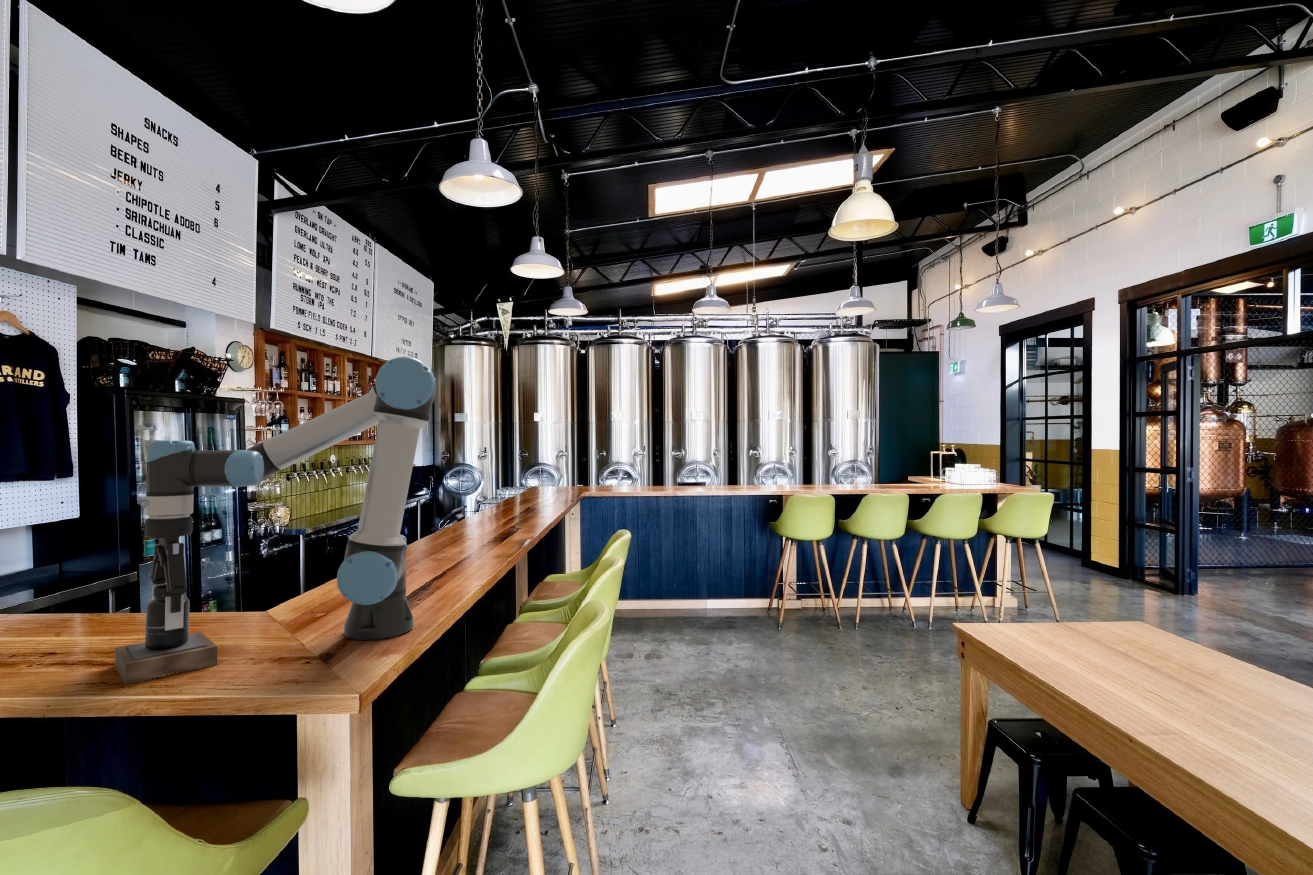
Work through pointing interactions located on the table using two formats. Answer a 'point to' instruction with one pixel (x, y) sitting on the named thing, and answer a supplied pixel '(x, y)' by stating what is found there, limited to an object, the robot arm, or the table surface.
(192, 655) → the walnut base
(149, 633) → the supplement bottle
